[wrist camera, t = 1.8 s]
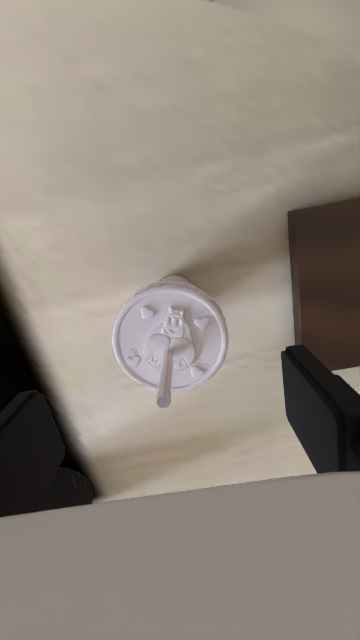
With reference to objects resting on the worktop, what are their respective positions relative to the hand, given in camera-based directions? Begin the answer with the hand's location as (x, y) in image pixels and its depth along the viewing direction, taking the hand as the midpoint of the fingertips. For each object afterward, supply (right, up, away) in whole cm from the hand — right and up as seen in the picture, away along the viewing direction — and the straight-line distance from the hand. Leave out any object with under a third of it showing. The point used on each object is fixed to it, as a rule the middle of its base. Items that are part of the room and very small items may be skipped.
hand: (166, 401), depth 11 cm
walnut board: (+16, +6, +13) cm, 22 cm away
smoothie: (0, +5, +13) cm, 14 cm away
